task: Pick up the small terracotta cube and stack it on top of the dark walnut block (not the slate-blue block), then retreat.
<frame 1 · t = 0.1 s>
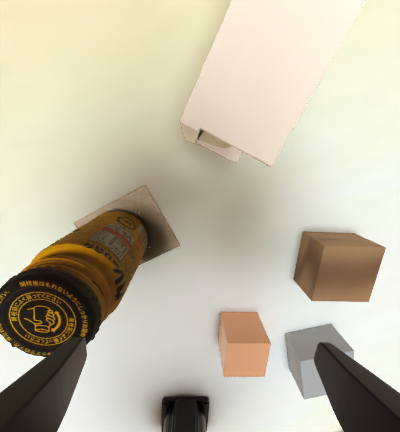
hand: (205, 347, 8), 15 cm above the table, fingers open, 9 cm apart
slate block: (308, 345, 27), on the table
walnut block: (322, 256, 24), on the table
condiment: (129, 232, 22), on the table
terracotta cube: (237, 326, 26), on the table
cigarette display: (261, 45, 18), on the table
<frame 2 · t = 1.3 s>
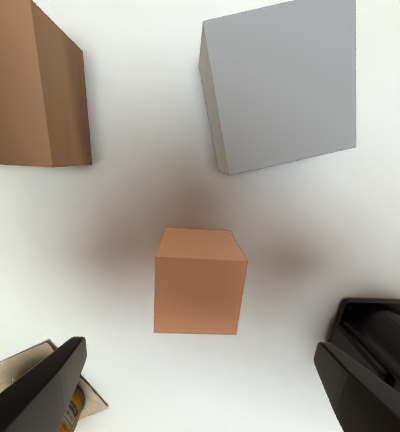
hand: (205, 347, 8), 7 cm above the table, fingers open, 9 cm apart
slate block: (256, 111, 13), on the table
walnut block: (35, 108, 12), on the table
condiment: (46, 387, 18), on the table
terracotta cube: (196, 257, 15), on the table
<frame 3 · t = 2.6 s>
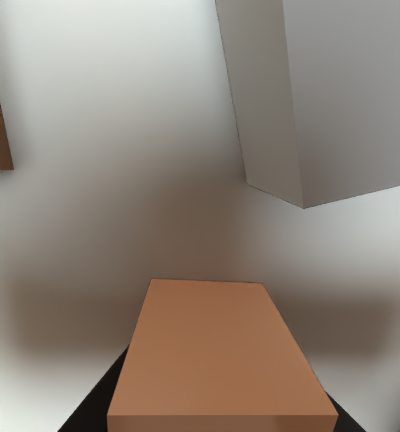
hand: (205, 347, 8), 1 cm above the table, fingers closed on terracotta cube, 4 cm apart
slate block: (320, 70, 7), on the table
terracotta cube: (203, 326, 9), on the table, touching gripper
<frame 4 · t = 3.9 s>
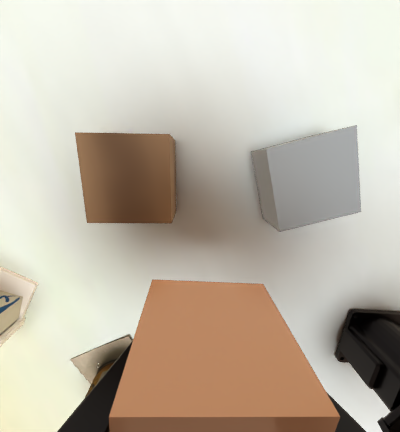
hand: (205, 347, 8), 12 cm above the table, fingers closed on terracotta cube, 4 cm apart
slate block: (289, 177, 18), on the table
walnut block: (141, 176, 18), on the table
condiment: (121, 371, 23), on the table
terracotta cube: (204, 327, 9), point 11 cm above the table, touching gripper
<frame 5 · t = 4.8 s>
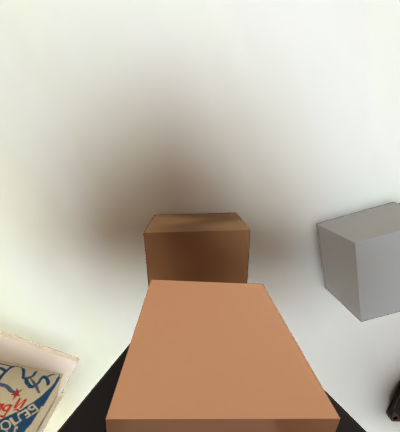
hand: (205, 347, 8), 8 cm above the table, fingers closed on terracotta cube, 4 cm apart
slate block: (355, 246, 17), on the table
walnut block: (196, 249, 16), on the table
terracotta cube: (203, 327, 9), point 7 cm above the table, touching gripper
when the fingers open (6 cm above the table, at t = 5.5 s): terracotta cube drops 1 cm, resting on walnut block.
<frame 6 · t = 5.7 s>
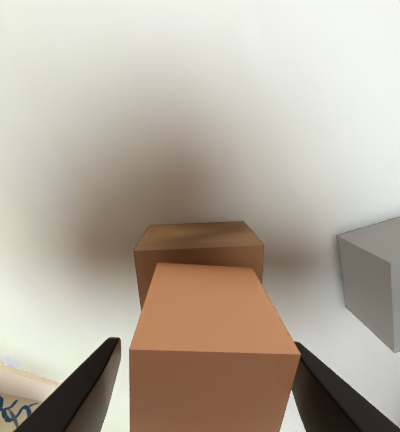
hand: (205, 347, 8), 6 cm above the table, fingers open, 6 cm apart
slate block: (380, 259, 15), on the table
walnut block: (198, 263, 14), on the table, touching terracotta cube
terracotta cube: (201, 305, 10), point 4 cm above the table, touching walnut block
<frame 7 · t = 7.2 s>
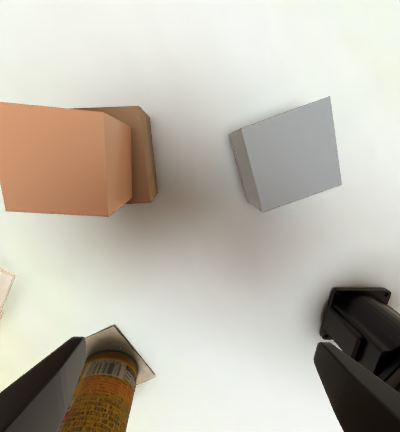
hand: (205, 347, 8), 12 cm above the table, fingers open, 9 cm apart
slate block: (270, 157, 18), on the table
walnut block: (117, 158, 17), on the table, touching terracotta cube
condiment: (108, 361, 23), on the table
terracotta cube: (95, 161, 13), point 4 cm above the table, touching walnut block
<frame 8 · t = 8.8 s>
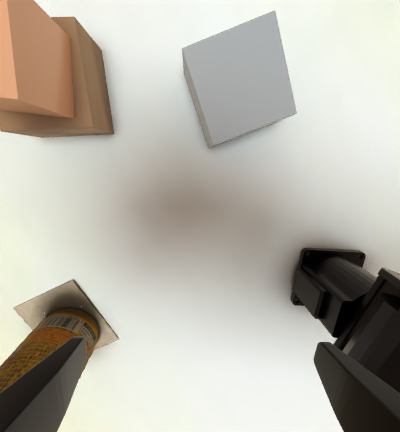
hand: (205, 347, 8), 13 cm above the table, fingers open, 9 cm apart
slate block: (230, 99, 17), on the table
walnut block: (71, 96, 17), on the table
condiment: (70, 321, 22), on the table
terracotta cube: (34, 75, 13), point 4 cm above the table
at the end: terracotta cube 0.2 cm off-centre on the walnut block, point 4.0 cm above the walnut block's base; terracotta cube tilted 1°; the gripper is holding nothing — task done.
